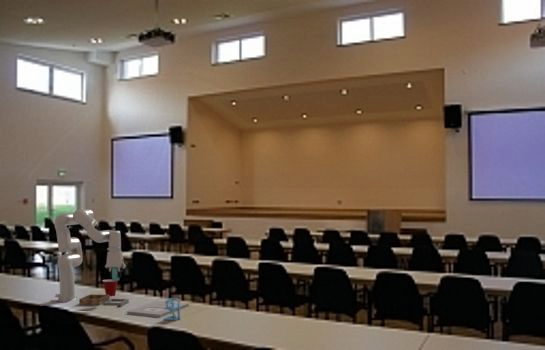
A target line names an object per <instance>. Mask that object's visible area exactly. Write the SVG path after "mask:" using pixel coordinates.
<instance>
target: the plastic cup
mask: <svg viewBox="0 0 545 350" xmlns="http://www.w3.org/2000/svg"><path fill="white" fill-rule="evenodd" d="M118 282H119V281H112V278H110V279H103V280H102V283H103V287H104V292H105V295H110V297H115V296H116V292H117V287H118Z"/></svg>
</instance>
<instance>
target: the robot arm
mask: <svg viewBox="0 0 545 350" xmlns="http://www.w3.org/2000/svg"><path fill="white" fill-rule="evenodd" d="M94 217H95V215H94V212H93V210H92V209H89V208H83V209H76V210H74V212H65V213H61V214H58V215H57V216H56V217H55V219H54V228H55V231H56V239H57V246H58V247H57V248H58V250H59V252H60V253H65V254H61V255H60V256H59V257H58V259H57V267H58V272H59V276H58V277H59V293H55V296H54V297H55V298H57V302H60V303H68V302H71V301H73V300H76V299H77V298H78V297H77V296H76V293H75V292H76V291H75V289H76V288H75V287H76V285H75V271H74V269H73V268H75V267H79V266H80V265H81V264H82V263H83V250H82V243H81V241H80V239H79V238H78V237H75V236H72V237H71V232H70V229H69V227H67V226H75V225H80V226H81V227H83V228H84V229H85V231H86V234H87V237H88V238H89V239H91V240H92V241H94V242H95V243H99V244H100V243H107V242H108V247H107V249H106V250H107V255H106V263H105V265H104V267H105V268H106V270H108V271H109V277H110V279H112V267H118V278H119V279H120V278H121V277H122V272H123V270H124V269H125V268H126V267H127V265H126V264H125V262H124V254H123V251H122V237H121V231H120V230H111V229H106V230H98V229H97V228H95V227H96V225H97V220H96V219H95V218H94ZM69 252H70V253H69Z"/></svg>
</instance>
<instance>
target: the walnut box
mask: <svg viewBox="0 0 545 350" xmlns="http://www.w3.org/2000/svg"><path fill="white" fill-rule="evenodd" d="M110 299H111V296H110V295H106V294H100V293H99V294H97V293H96V294H87V295H85V296H83V297H81V298H79V306H101V305H103V303H104V302H106V301H108V300H110Z"/></svg>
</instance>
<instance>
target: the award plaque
mask: <svg viewBox="0 0 545 350" xmlns="http://www.w3.org/2000/svg"><path fill="white" fill-rule="evenodd" d="M165 301H166V300H155V301H152V302H150V303H147V304H144V305H141V306H137V307H136V308H132V309H130V310H127V311H126V314H127V315H131V316H132V315H134V316H140V317H141V316H143V317H150V318H151V317H152V318H153V317H154V318H159V319H160V318H162V317H165V316H168V315H170V314H172V313H171V311H170V310H168V309H165V307H166V306H167V305H166V302H165ZM173 302H174V305H175V306H178V303H179V302H178V301H173ZM167 304H168V307H169V306H172V303H170V302H168V303H167ZM179 306H181V308H180V310H183V309H185V308H188V307H189V306H190V303H188V302H180V303H179ZM173 312H174V313H175V312H178V311H177V309H175V310H173Z"/></svg>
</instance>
